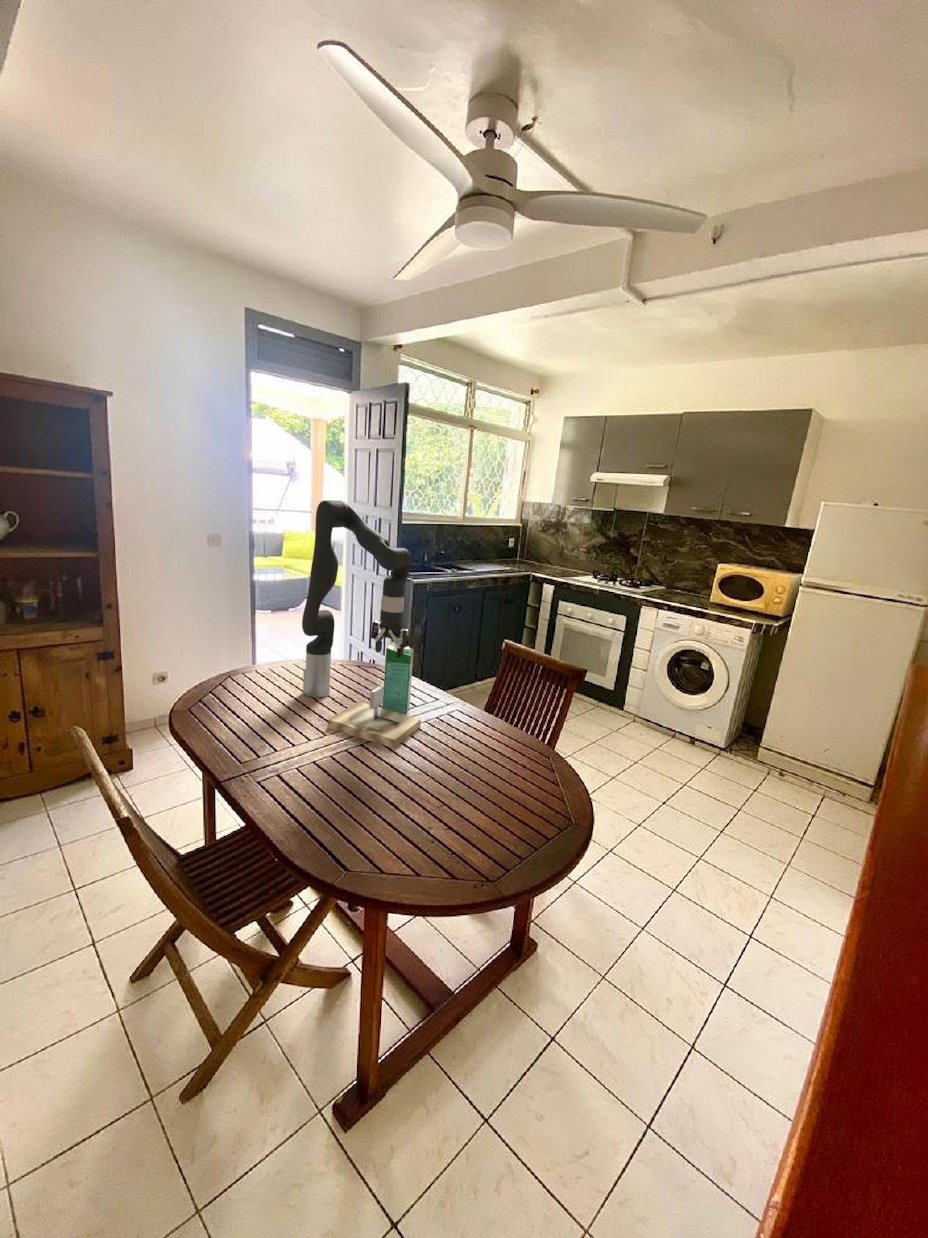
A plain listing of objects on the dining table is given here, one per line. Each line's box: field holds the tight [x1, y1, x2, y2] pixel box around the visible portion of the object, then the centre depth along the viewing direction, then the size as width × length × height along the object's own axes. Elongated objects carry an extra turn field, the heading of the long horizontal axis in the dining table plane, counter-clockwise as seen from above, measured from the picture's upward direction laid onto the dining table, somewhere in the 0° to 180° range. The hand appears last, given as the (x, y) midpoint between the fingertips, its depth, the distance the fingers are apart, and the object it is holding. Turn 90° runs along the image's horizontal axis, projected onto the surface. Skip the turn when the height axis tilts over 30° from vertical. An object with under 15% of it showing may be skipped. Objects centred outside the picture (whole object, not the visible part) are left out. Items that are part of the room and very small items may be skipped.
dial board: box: [327, 701, 422, 749], centre depth 171 cm, size 26×18×3 cm
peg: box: [369, 685, 399, 724], centre depth 168 cm, size 10×6×11 cm, turn 67°
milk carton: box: [382, 640, 415, 715], centre depth 186 cm, size 9×9×25 cm
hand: (388, 654), depth 168 cm, fingers open, 8 cm apart
